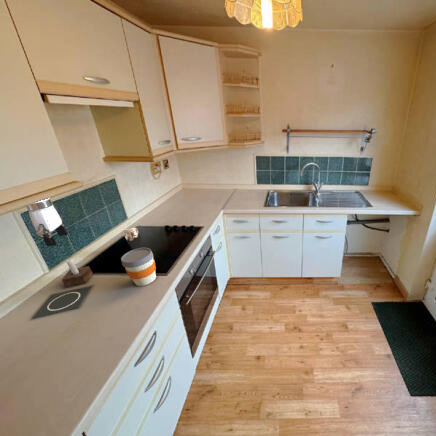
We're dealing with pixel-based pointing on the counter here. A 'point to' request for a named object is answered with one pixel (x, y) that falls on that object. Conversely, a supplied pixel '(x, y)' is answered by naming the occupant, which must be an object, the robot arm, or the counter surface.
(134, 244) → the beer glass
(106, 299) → the counter surface
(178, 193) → the counter surface
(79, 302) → the slate board
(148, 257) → the reusable coffee cup
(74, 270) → the marker
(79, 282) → the holder
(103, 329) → the counter surface
